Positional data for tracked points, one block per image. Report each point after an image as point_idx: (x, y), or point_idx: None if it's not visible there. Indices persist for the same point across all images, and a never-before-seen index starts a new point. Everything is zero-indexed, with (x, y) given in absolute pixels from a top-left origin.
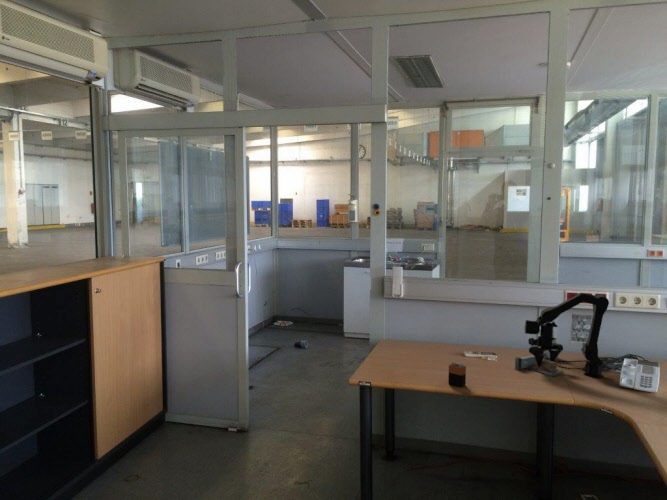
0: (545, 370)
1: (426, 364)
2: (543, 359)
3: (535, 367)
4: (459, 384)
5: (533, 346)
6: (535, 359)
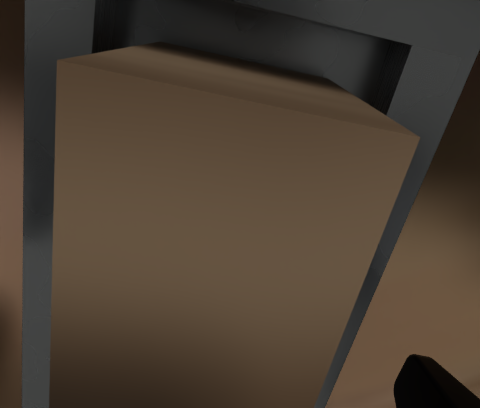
0: None
1: None
2: (279, 346)
3: None
4: None
5: None
6: (67, 98)
